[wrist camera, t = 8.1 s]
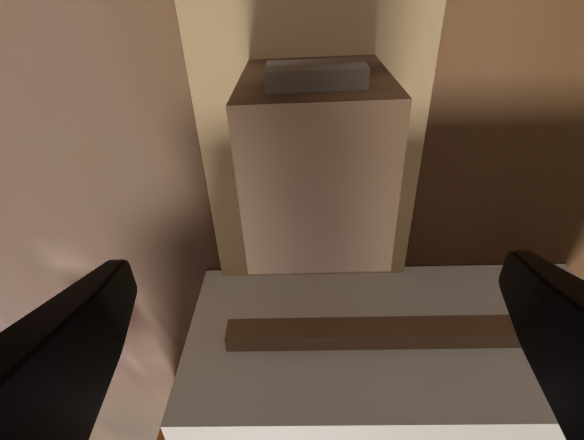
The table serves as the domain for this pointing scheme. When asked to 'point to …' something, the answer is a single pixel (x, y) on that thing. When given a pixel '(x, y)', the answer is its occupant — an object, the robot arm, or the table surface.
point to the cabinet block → (318, 162)
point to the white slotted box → (339, 285)
